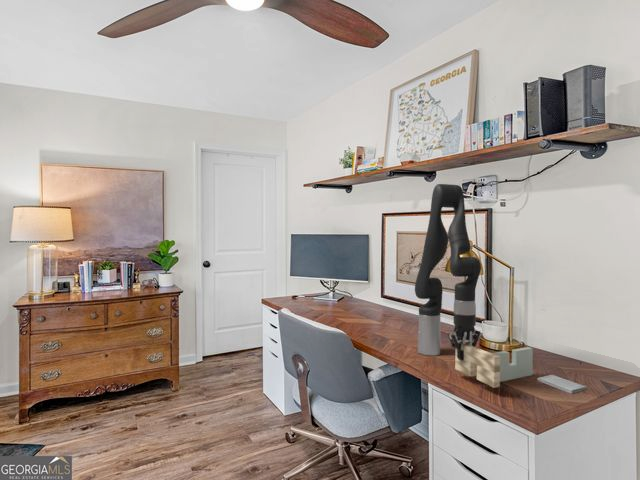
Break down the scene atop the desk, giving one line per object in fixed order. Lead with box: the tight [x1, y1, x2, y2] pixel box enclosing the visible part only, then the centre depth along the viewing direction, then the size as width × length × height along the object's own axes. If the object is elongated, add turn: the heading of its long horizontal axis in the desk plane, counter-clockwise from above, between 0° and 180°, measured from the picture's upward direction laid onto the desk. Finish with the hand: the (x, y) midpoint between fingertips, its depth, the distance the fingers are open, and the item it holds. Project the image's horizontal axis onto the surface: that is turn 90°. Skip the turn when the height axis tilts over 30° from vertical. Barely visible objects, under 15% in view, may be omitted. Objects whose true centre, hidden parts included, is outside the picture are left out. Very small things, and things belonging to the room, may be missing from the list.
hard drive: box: [536, 374, 588, 394], centre depth 137 cm, size 2×8×12 cm
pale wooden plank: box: [454, 343, 501, 389], centre depth 137 cm, size 18×2×10 cm, turn 23°
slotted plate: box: [491, 346, 534, 383], centre depth 143 cm, size 20×2×10 cm, turn 113°
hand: (464, 358), depth 142 cm, fingers closed on pale wooden plank, 2 cm apart
